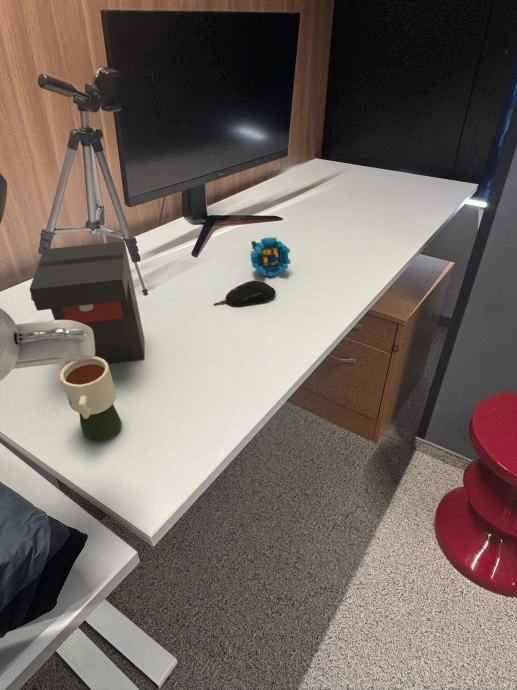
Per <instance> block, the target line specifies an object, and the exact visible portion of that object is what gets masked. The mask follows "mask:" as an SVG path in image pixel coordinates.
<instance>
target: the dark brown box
mask: <svg viewBox="0 0 517 690" xmlns="http://www.w3.org/2000/svg"><path fill="white" fill-rule="evenodd" d="M28 290H29V293H30V295H31V298H32V301H33V303H34V306H35V309H36V311H37V312H38V311H46V310H47V311H48V310H50V311H51V314H52V316H53V320H72V321H77V322H80V323H82V324H85V325H87V326H89V327H90V328H92V330H93V334H94V341H95V356H94V357H99V358H102V359H104V360H105V361H106V362H107V363H108V365H113V364H112V363H114V364H121V363H120V362H122V363H128V361H129V362H136V361H144V360H145V358H146V357H145V356H146V354H145V350H146V349H145V335H144V329H143V325H142V320H141V319H142V318H141V315H140V309H139V306H138V300H137V295H136V290H135V284H134V280H133V276H132V271H131V266H130V260H129V256H128V251H127V245H126V241H124V240H123V241H113V242H102V243H93V244H83V245H73V246H72V245H71V246H62V247H52V248H43V250H42V252H41V256H40V258H39V262H38V264H37V267H36V269H35V272H34V276H33V278H32V280H31V283H30V287H29V289H28ZM69 363H70V362H68V364H69Z"/></svg>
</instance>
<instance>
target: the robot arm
mask: <svg viewBox="0 0 517 690" xmlns="http://www.w3.org/2000/svg"><path fill="white" fill-rule="evenodd" d="M7 195H8V181H7V180H6V178H5V177H4V175H3V172H2V171H1V169H0V225H1V223H2V220H3V217H4V213H5V209H6V205H7ZM94 356H95V341H94V334H93V330H92V328H90V327H89V326H87V325H85V324H82V323H80V322H77V321H72V320H54V319H52V320H44V321H43V320H42V321H34V322H26V323H25V322H24V323H16V322H15V321H14V319H13V318H12V316H11V315H10V314H9V313H8V312H7V311H5V310H4V309H3V308H1V307H0V382H1V381H3V380H4V379H5V378H6V377H7V376H8V375H9V374H10V373H11V371H12V370H16V369H24V368H32V367H40V366H41V367H42V366H49V365H57V364H65V363H69V362H74V361H82V360H88V359H91V358H93V357H94Z"/></svg>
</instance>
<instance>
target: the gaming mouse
mask: <svg viewBox="0 0 517 690" xmlns="http://www.w3.org/2000/svg"><path fill="white" fill-rule="evenodd" d="M276 293H277V291H276V290H275V288H274V287H273V286H271V285H270V284H268V283H266V282H264V281H260V280H250V281H246V282H243V283H242V284H239V285H237V286H236V287H233V288H232V289H231V290H230V291H229V292H227V294H226V296H225V298H224V299H223V300H221V301H218V302H214V303H213V306H218V305H220V304H225V303H227V304H229V305H230V306H233V307H244V306H251V305H257V304H262V303H266V302H269V301H271V300H273V299H274V298H275V296H276Z"/></svg>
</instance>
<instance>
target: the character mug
mask: <svg viewBox="0 0 517 690" xmlns="http://www.w3.org/2000/svg"><path fill="white" fill-rule="evenodd" d="M59 378H60V382H61V385H62V388H63V391H64V393H65V394H66V396H67V401H68V405H69V407H70V408H71V410H72V411H73V412H76V413H78V414H79V423H80V428H81V433H82V435H83V437H84V438H85V439H86V440H88V441H90V442H98V441H99V442H100V441H103V440H107V439H110V438H111V437H114V436H115V435H117V433H118V432H119V431H120V430H121V428H122V421H121V420H122V419H121V418H120V416H119V413H118V410H117V409H116V407H115V405H114V403H115V401H116V399H117V397H116V396H117V395H116V388H115V385H114V381H113V378H112V373H111V370H110V366H109V364H108V363H107V362H106V361H105V360H104V359H102V358H99V357H93V358H91V359H88V360H82V361H74V362H70V363H69V362H68V363H67V364H66V365H64V367H63V368H62V369H61V370H60V373H59Z"/></svg>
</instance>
